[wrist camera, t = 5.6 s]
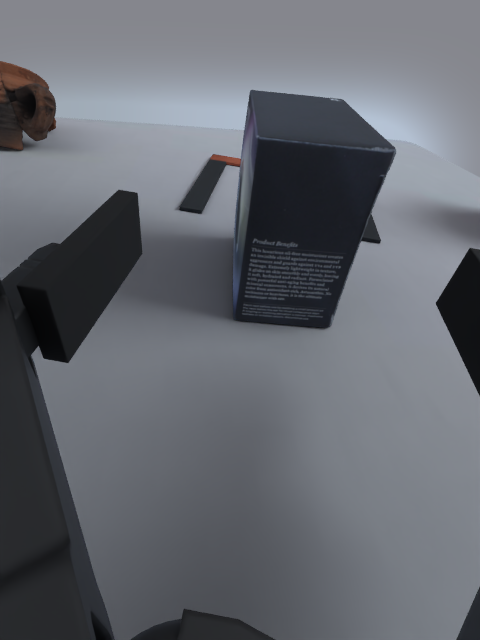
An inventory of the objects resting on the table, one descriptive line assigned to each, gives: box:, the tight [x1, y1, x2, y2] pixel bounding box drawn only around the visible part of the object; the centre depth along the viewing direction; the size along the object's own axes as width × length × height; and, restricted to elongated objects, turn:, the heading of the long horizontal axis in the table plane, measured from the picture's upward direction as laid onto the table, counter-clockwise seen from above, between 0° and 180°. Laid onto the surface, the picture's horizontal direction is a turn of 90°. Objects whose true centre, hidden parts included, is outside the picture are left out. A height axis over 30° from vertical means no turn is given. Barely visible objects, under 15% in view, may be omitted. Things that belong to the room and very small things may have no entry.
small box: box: [233, 90, 396, 328], centre depth 22 cm, size 11×6×10 cm, turn 0°
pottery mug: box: [0, 61, 56, 150], centre depth 39 cm, size 12×10×8 cm
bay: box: [180, 154, 381, 243], centre depth 37 cm, size 18×16×1 cm
